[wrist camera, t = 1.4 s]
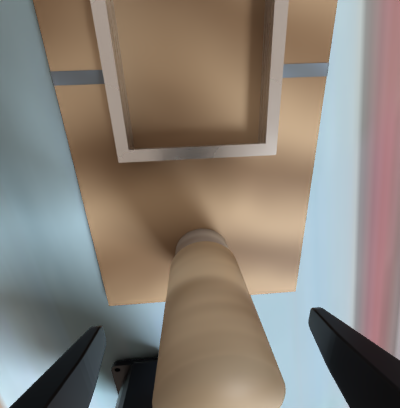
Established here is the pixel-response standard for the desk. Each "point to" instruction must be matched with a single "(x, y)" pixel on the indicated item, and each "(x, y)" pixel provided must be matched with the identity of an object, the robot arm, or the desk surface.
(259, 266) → the subfloor panel
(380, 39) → the desk surface
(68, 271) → the desk surface
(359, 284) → the desk surface
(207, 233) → the beige rounded cylinder
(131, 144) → the collar
